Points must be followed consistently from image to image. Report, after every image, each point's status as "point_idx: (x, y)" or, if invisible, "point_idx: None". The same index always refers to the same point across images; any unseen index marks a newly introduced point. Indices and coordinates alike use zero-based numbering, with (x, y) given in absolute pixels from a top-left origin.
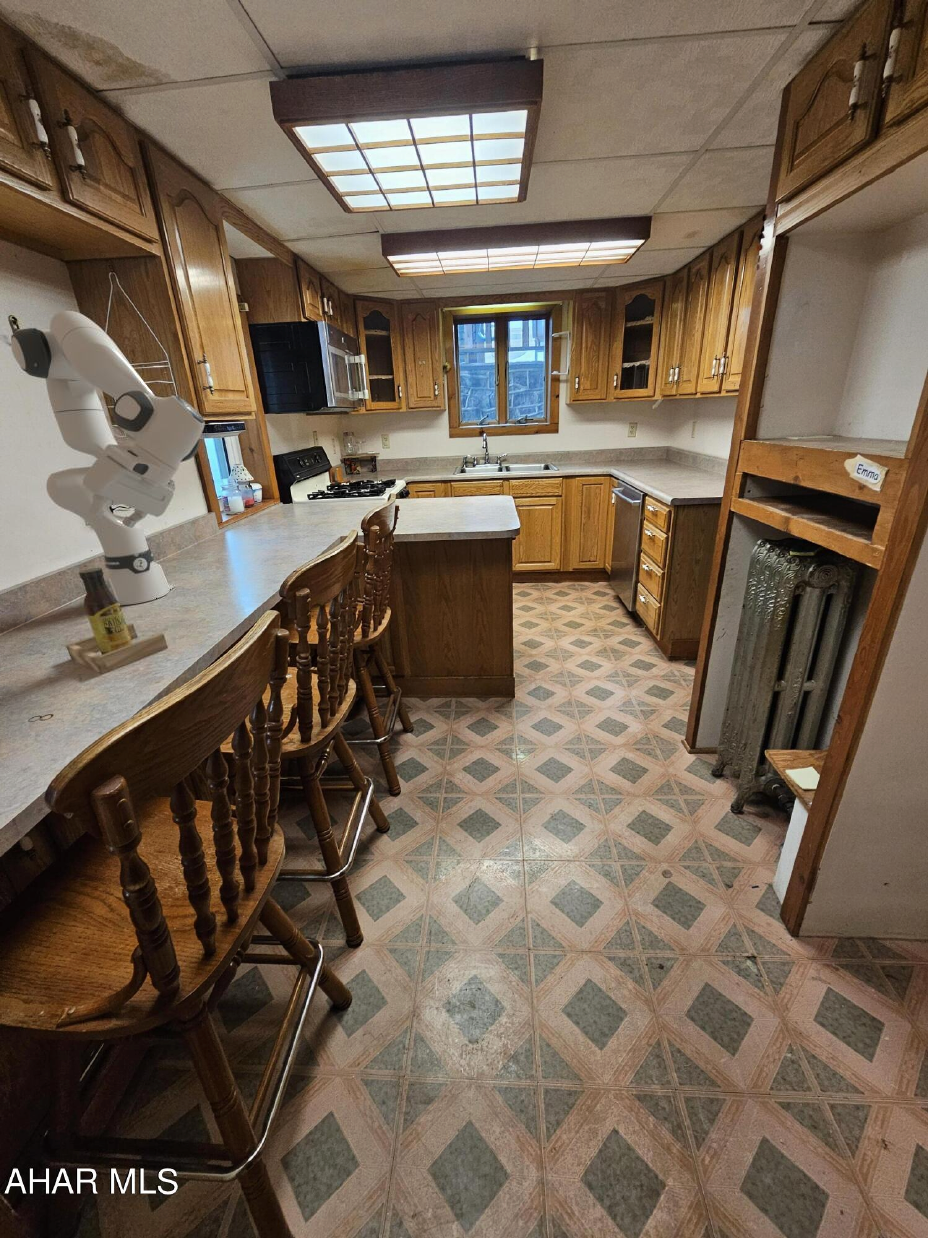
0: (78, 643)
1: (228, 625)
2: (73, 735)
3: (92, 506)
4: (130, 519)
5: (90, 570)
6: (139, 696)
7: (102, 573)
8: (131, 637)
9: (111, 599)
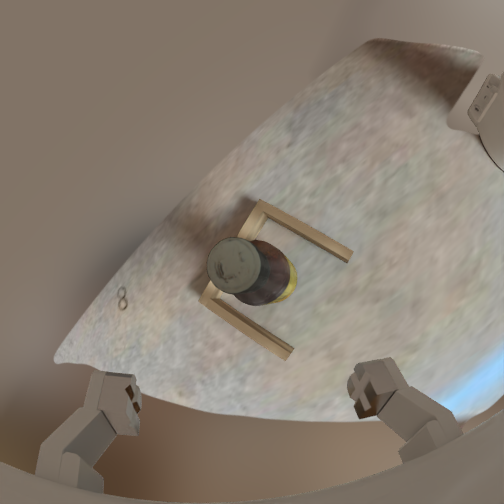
0: (268, 213)
1: None
2: (99, 354)
3: (86, 402)
4: (362, 412)
5: (225, 271)
6: (152, 386)
7: (245, 292)
8: (338, 257)
9: (251, 301)
